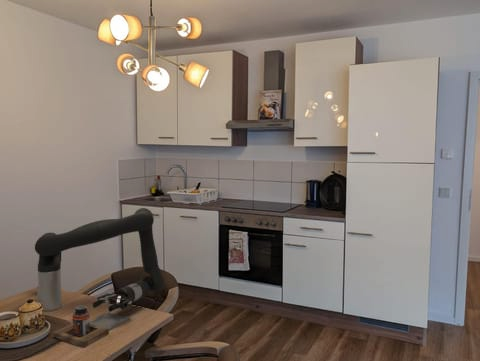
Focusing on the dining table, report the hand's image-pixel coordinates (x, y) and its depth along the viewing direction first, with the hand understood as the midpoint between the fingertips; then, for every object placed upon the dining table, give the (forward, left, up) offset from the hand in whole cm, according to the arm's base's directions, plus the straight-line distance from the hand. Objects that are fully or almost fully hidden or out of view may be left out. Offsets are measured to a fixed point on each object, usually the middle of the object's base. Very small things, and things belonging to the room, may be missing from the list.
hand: (101, 307), depth 162 cm
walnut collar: (0, -10, -8) cm, 13 cm away
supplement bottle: (0, -10, -8) cm, 13 cm away
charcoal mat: (0, +4, -8) cm, 8 cm away
